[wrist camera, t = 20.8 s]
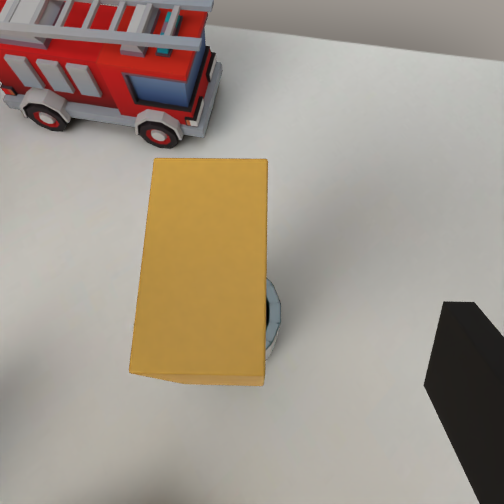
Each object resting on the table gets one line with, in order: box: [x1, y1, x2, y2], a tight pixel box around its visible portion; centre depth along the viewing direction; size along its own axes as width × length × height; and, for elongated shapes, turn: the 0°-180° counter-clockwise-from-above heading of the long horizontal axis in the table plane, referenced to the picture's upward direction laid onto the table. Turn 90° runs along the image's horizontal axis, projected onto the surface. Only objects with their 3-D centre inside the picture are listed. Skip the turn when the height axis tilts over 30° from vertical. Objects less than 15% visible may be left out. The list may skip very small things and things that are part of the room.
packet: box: [129, 158, 268, 386], centre depth 19 cm, size 4×8×10 cm, turn 179°
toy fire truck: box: [0, 0, 222, 148], centre depth 34 cm, size 9×19×10 cm, turn 79°
